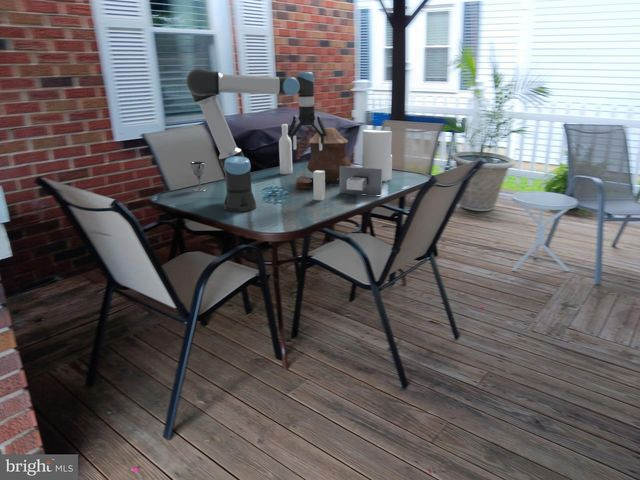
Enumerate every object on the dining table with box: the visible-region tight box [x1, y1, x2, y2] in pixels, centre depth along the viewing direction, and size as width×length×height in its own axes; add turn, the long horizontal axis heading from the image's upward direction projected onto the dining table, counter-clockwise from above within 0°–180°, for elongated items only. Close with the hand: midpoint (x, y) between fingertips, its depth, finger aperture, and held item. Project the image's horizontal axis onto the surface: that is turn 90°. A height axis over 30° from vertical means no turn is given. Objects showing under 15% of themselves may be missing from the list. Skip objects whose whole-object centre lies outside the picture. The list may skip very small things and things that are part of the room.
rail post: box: [312, 170, 326, 201], centre depth 241 cm, size 4×4×14 cm
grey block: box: [339, 166, 383, 196], centre depth 244 cm, size 12×22×14 cm, turn 70°
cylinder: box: [361, 129, 393, 181], centre depth 281 cm, size 17×17×28 cm
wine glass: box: [189, 160, 207, 193], centre depth 262 cm, size 8×8×15 cm
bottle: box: [278, 123, 294, 175], centre depth 299 cm, size 8×8×30 cm
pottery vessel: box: [306, 127, 352, 181], centre depth 279 cm, size 26×26×30 cm
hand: (307, 149), depth 241 cm, fingers open, 13 cm apart
